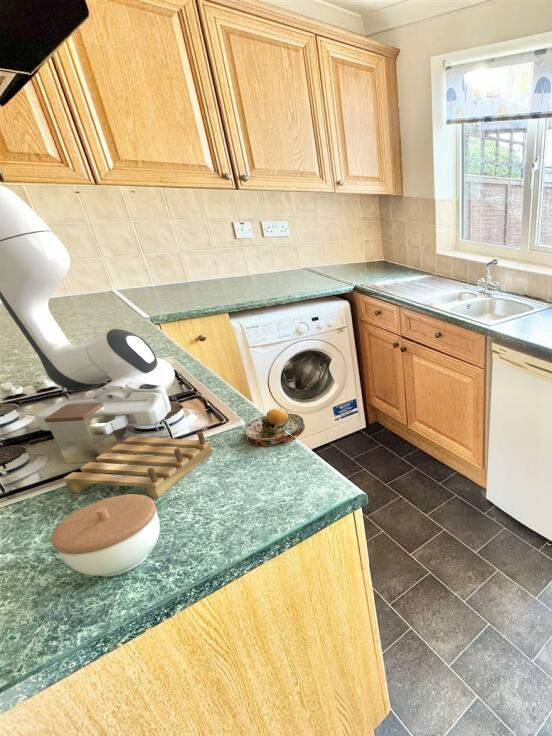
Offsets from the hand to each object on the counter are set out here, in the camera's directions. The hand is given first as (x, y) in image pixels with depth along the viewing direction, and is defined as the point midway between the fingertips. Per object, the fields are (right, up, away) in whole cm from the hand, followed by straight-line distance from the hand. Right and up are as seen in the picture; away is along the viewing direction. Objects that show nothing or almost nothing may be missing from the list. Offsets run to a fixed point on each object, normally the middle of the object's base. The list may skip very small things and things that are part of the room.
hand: (80, 433), depth 80 cm
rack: (+13, -7, -1) cm, 15 cm away
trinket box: (+26, -17, -19) cm, 36 cm away
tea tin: (-1, -5, +3) cm, 6 cm away
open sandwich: (+30, -2, +14) cm, 33 cm away
